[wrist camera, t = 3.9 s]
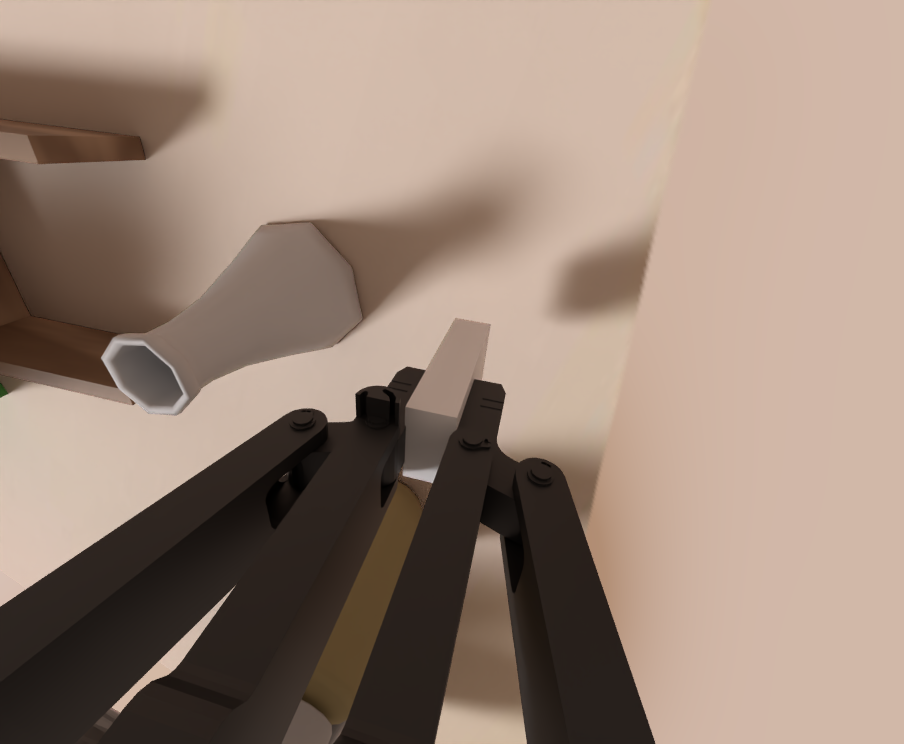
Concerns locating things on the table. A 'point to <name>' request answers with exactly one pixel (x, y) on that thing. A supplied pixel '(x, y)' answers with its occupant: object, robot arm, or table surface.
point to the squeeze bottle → (356, 626)
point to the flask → (242, 319)
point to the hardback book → (2, 391)
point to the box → (3, 311)
